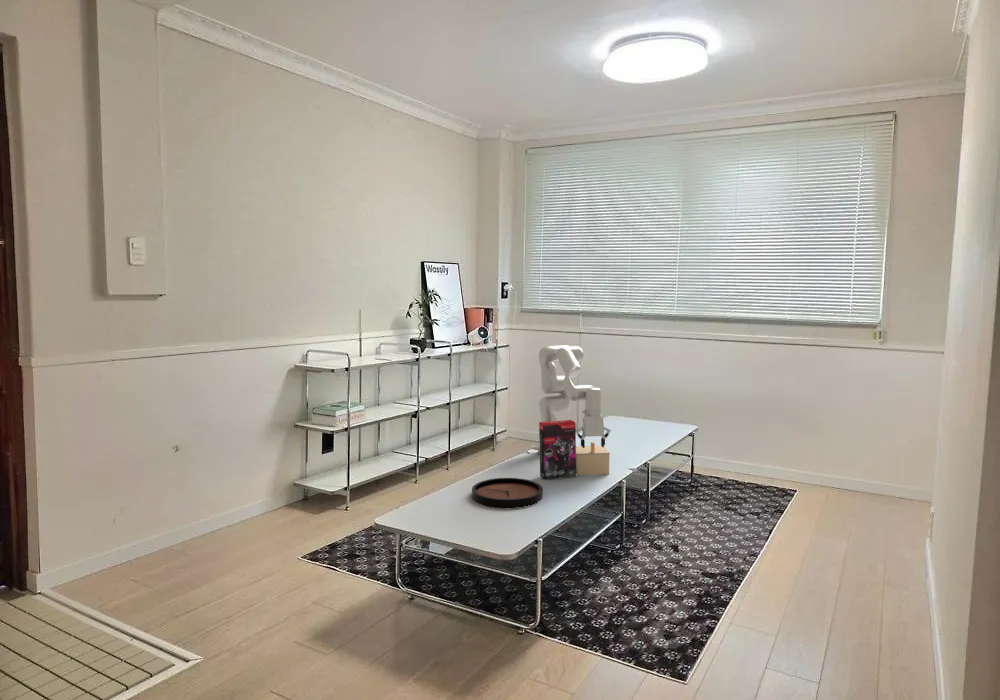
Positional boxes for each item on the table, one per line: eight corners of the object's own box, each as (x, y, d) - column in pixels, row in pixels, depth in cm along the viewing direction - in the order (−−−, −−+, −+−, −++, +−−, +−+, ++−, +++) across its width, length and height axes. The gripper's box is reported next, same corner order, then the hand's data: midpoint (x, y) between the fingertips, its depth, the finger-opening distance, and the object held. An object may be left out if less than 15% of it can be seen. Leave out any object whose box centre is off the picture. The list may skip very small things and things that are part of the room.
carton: (577, 475, 331) (577, 455, 330) (571, 467, 345) (571, 447, 344) (609, 474, 333) (609, 454, 331) (602, 466, 346) (602, 447, 345)
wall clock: (557, 488, 300) (507, 505, 278) (557, 496, 300) (507, 514, 278) (507, 473, 322) (457, 488, 300) (507, 481, 322) (457, 497, 301)
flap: (576, 454, 330) (576, 443, 329) (571, 447, 344) (571, 436, 343) (609, 454, 331) (609, 442, 331) (603, 446, 345) (603, 436, 345)
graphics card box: (543, 480, 323) (543, 424, 320) (538, 476, 329) (538, 421, 326) (576, 477, 327) (577, 422, 324) (571, 473, 334) (571, 419, 331)
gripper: (577, 414, 326) (577, 449, 327) (612, 413, 327) (612, 448, 329) (574, 411, 333) (574, 445, 335) (608, 410, 335) (608, 444, 336)
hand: (592, 447), depth 332 cm, fingers open, 9 cm apart
